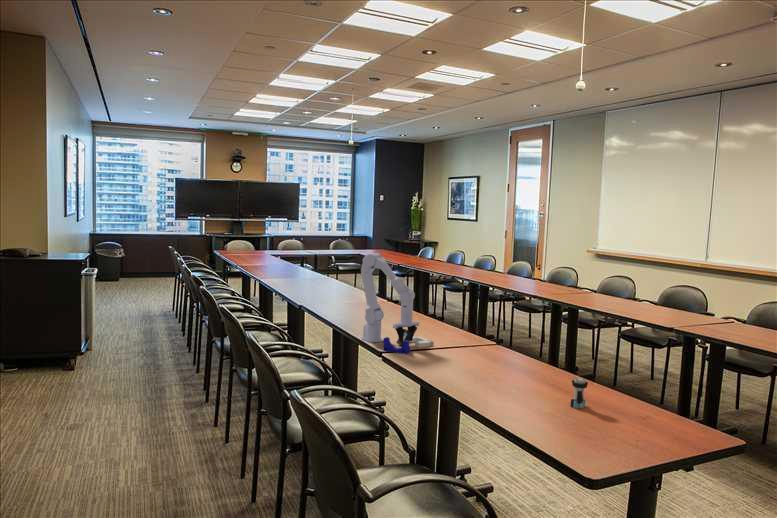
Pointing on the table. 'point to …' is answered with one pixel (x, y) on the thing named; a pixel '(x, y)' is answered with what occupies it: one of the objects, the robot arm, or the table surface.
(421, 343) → the groove holder
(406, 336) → the ink cartridge
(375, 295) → the robot arm
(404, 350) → the blue curved piece
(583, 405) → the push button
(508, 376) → the table surface
